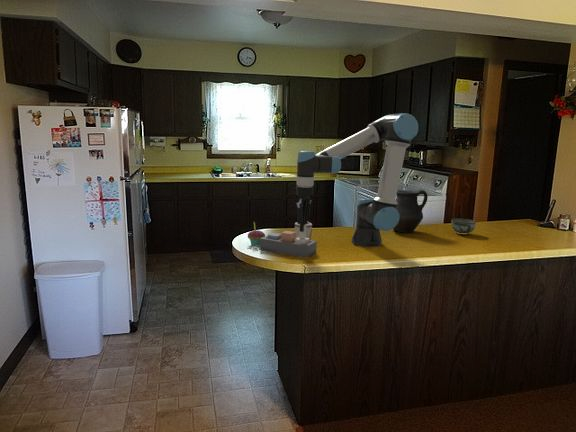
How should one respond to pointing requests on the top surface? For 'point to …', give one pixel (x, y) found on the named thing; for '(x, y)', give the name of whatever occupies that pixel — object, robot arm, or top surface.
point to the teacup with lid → (308, 230)
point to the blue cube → (274, 236)
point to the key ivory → (302, 241)
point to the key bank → (288, 247)
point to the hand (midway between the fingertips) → (302, 238)
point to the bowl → (463, 225)
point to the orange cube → (288, 236)
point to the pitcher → (409, 210)
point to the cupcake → (255, 236)
